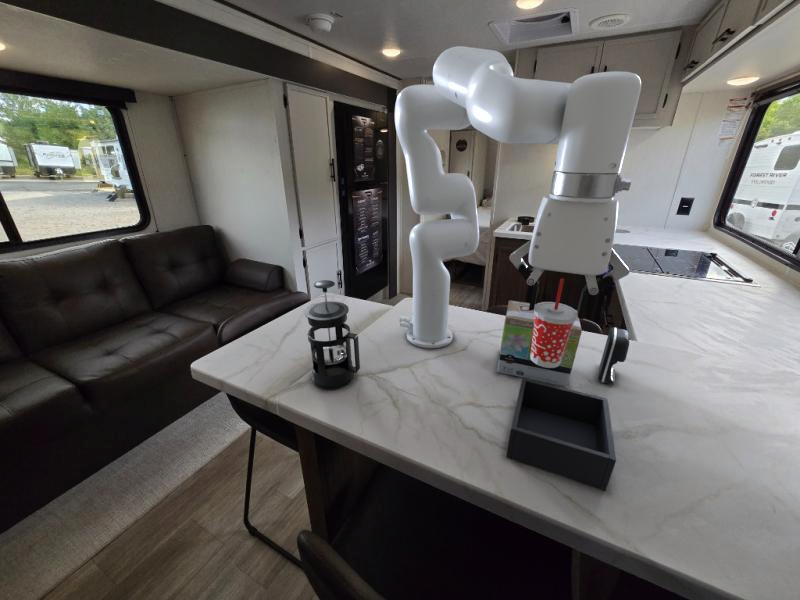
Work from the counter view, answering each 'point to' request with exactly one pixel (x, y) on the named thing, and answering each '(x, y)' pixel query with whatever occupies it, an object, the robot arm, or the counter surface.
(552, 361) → the beverage cup
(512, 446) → the black open box
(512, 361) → the tea box
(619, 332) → the battery charger
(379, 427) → the counter surface
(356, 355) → the french press
